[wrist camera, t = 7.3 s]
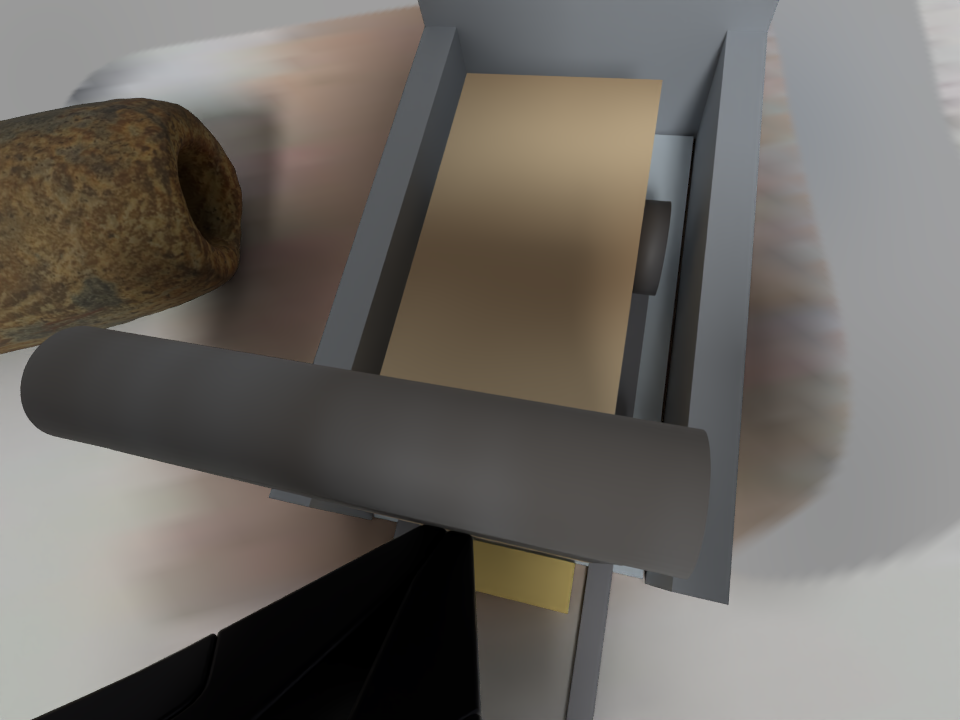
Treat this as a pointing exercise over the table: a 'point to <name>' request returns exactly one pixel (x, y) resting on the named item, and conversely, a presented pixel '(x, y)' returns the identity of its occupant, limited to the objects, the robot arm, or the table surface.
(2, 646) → the table surface
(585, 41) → the tray
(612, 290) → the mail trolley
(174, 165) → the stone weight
